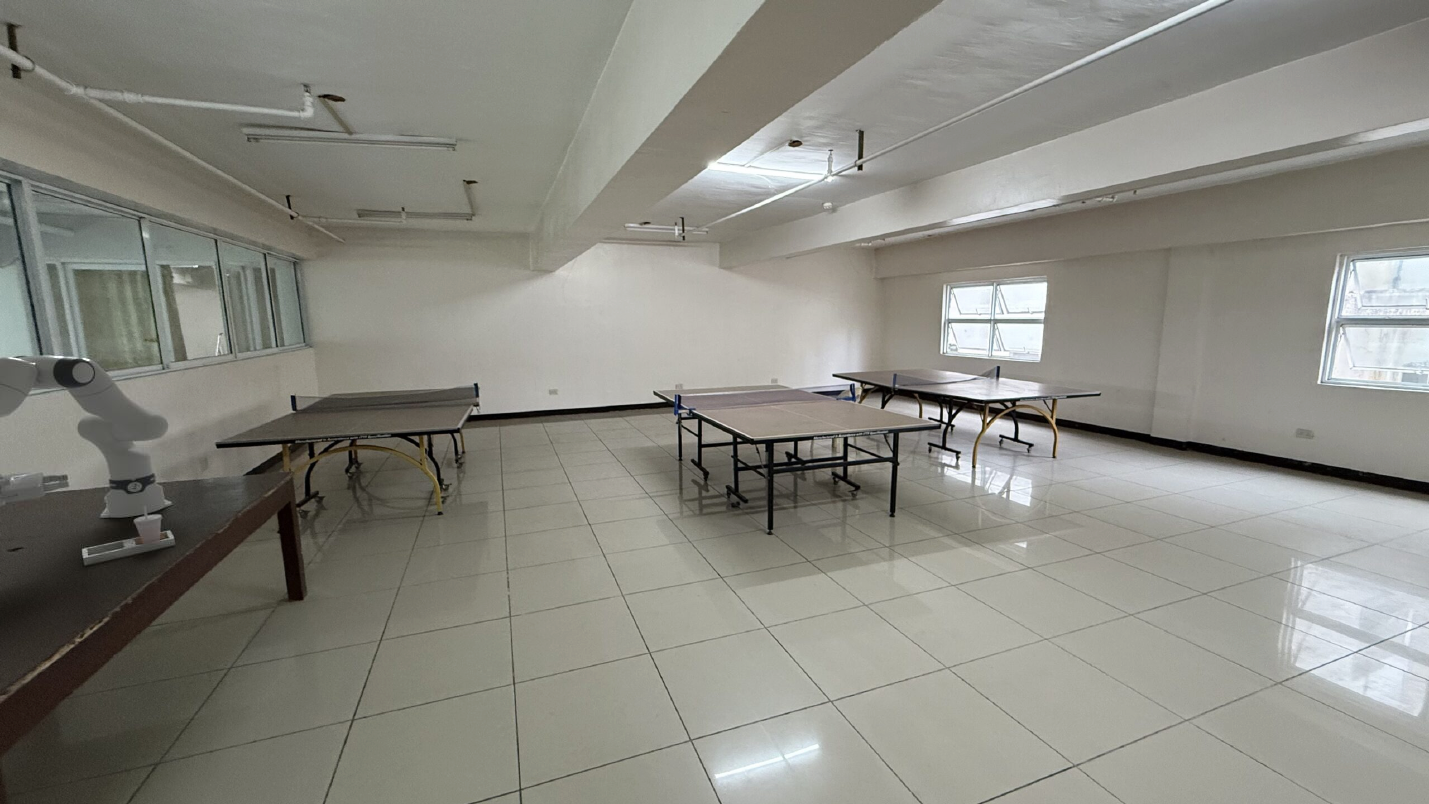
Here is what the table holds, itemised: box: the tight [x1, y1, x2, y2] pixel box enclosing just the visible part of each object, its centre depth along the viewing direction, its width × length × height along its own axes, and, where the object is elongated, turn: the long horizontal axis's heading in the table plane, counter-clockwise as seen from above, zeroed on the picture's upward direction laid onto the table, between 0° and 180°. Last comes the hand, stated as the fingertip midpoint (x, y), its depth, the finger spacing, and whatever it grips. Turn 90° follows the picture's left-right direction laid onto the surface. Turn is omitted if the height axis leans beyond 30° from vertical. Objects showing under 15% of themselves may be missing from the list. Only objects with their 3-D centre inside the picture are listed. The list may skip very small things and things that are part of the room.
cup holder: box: [81, 530, 176, 566], centre depth 171 cm, size 10×20×2 cm, turn 142°
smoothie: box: [133, 506, 163, 544], centre depth 173 cm, size 6×6×14 cm
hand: (68, 480), depth 161 cm, fingers open, 8 cm apart
